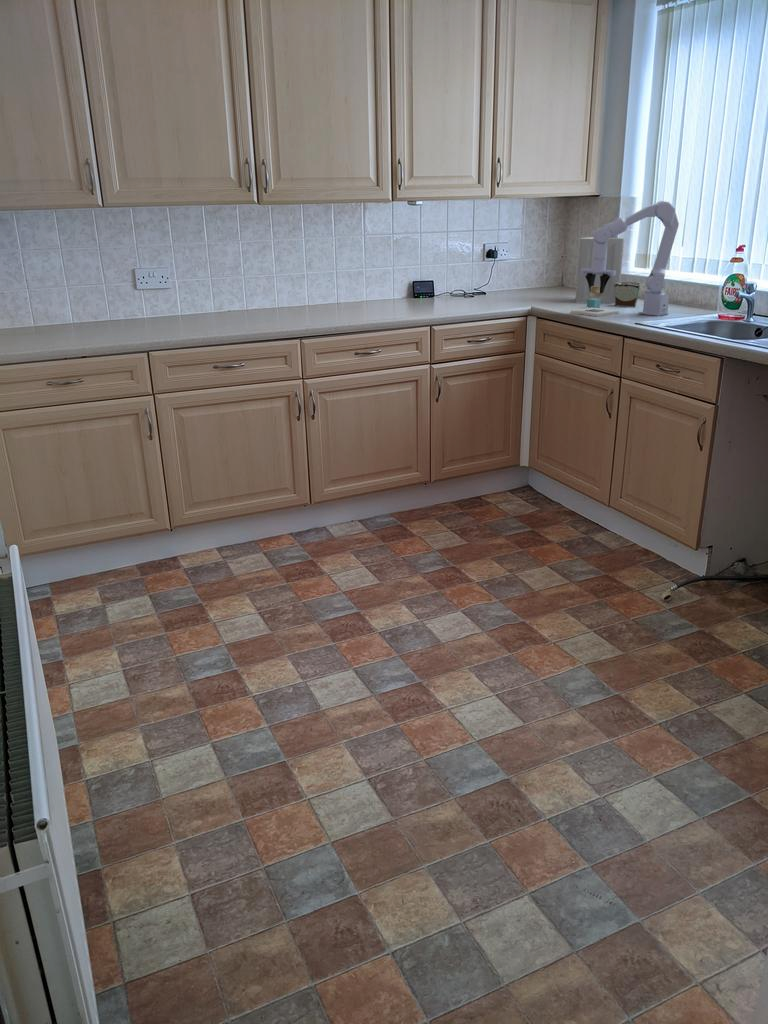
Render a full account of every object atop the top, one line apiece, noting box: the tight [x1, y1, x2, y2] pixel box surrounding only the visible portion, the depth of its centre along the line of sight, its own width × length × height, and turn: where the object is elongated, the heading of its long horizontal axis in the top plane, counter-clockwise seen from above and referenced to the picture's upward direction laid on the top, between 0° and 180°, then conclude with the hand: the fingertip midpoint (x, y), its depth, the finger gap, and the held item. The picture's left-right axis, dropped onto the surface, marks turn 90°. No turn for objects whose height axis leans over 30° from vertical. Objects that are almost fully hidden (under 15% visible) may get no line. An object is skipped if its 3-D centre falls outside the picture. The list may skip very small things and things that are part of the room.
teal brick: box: [586, 298, 601, 309], centre depth 366 cm, size 4×4×4 cm
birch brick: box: [590, 286, 603, 297], centre depth 349 cm, size 4×4×4 cm
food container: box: [614, 281, 642, 308], centre depth 371 cm, size 12×6×10 cm, turn 51°
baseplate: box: [570, 307, 620, 317], centre depth 352 cm, size 14×14×1 cm
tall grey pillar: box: [574, 236, 625, 304], centre depth 383 cm, size 19×15×28 cm
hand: (596, 292), depth 349 cm, fingers closed on birch brick, 4 cm apart
